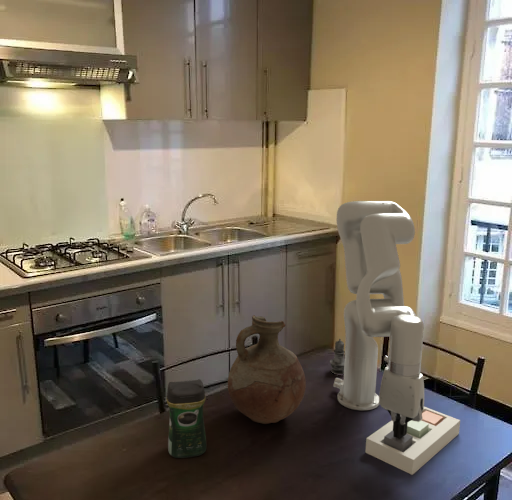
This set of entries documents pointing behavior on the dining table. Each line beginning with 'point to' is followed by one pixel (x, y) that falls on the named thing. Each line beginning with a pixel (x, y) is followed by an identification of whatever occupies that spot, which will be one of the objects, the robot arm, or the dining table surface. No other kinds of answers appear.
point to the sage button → (417, 428)
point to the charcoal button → (398, 441)
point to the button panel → (414, 444)
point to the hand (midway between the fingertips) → (399, 435)
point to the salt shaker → (338, 358)
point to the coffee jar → (186, 418)
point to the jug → (265, 375)
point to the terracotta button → (431, 418)
